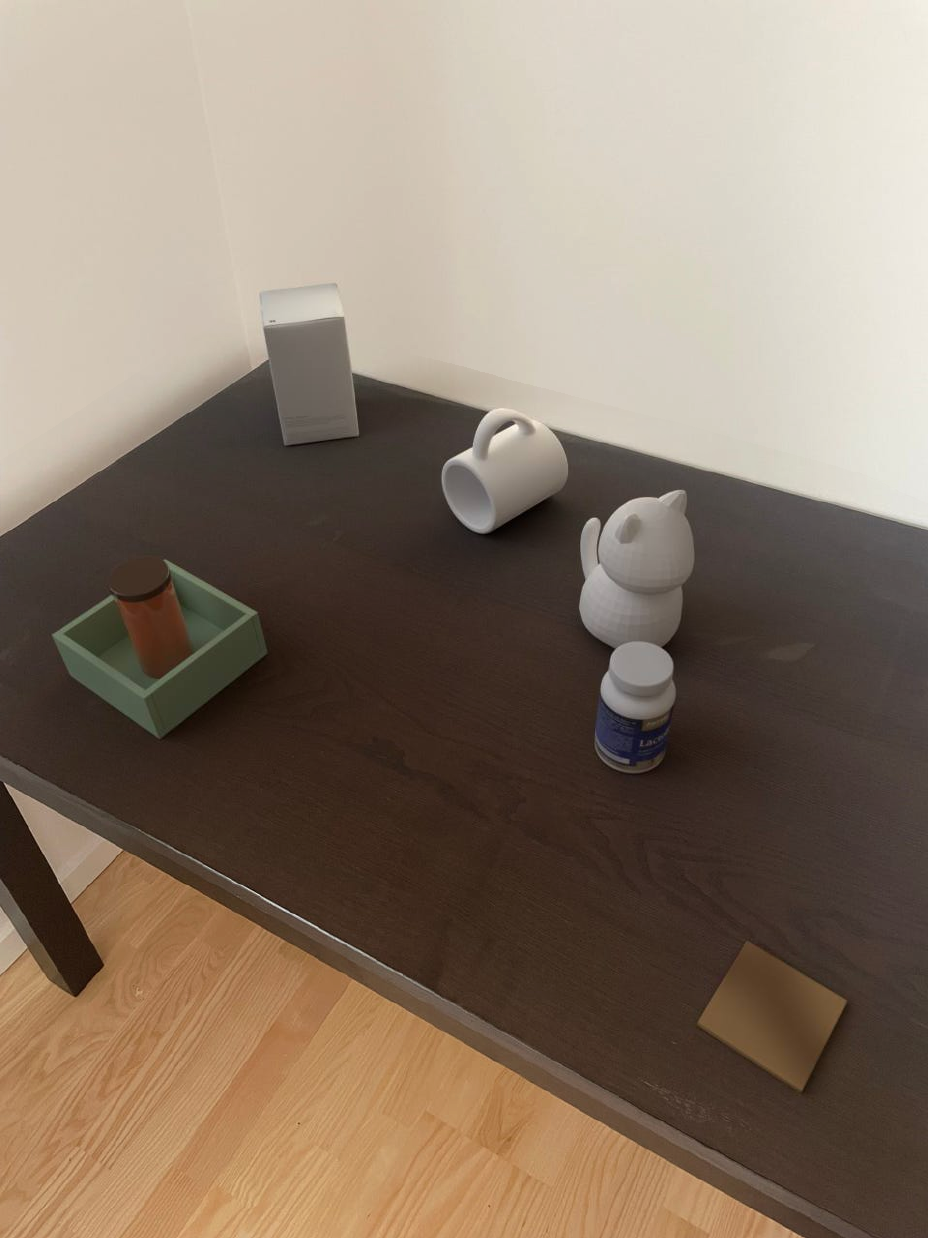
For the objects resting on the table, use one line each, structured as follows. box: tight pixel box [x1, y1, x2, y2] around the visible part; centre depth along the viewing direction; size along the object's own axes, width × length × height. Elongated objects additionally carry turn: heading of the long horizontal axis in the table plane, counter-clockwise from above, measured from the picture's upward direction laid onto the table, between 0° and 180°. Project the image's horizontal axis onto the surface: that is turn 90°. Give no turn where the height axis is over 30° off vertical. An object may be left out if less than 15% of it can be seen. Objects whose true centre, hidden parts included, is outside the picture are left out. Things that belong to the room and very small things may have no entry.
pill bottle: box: [594, 642, 677, 774], centre depth 75 cm, size 6×6×10 cm
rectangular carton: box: [259, 282, 360, 446], centre depth 110 cm, size 9×9×15 cm
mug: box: [441, 407, 569, 535], centre depth 98 cm, size 8×10×12 cm
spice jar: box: [107, 555, 195, 679], centre depth 83 cm, size 5×5×10 cm
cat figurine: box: [578, 489, 695, 650], centre depth 84 cm, size 9×12×15 cm
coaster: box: [696, 940, 848, 1094], centre depth 62 cm, size 7×7×1 cm
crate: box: [51, 558, 268, 740], centre depth 85 cm, size 12×12×5 cm
